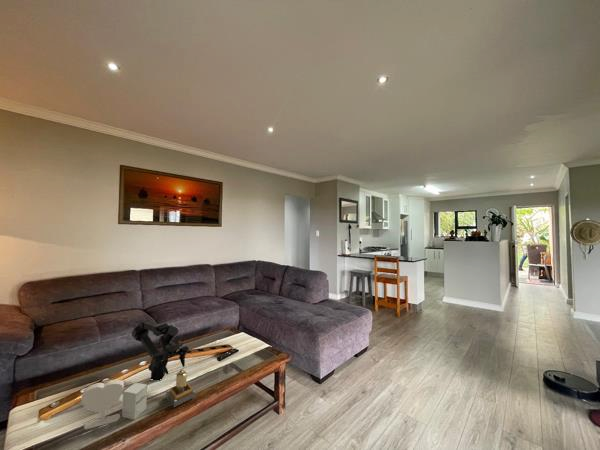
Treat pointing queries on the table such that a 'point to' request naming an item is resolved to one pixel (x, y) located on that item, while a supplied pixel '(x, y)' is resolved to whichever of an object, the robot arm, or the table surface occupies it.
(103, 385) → the heart sculpture
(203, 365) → the table surface
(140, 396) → the supplement box
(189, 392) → the grey square tray
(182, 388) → the spout can
